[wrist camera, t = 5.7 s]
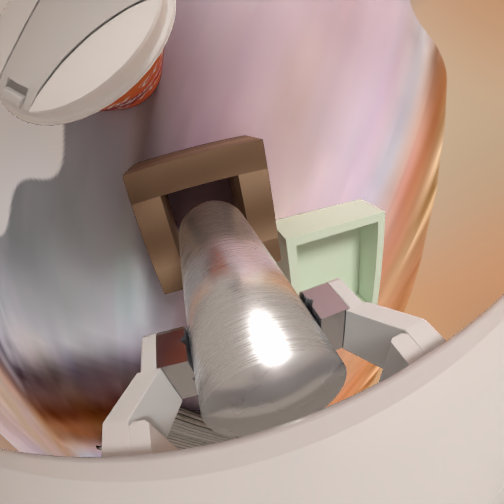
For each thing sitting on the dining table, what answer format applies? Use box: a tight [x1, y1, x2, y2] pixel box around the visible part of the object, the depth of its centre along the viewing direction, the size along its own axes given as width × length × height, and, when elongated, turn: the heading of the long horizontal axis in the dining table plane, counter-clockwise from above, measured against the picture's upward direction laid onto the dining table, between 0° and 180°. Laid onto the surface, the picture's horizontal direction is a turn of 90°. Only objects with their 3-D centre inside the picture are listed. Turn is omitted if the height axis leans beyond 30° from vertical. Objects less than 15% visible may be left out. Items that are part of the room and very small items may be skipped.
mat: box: [96, 406, 238, 450], centre depth 38 cm, size 23×24×5 cm
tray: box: [276, 199, 385, 305], centre depth 27 cm, size 12×10×4 cm
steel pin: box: [179, 201, 347, 437], centre depth 11 cm, size 4×4×11 cm
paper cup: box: [0, 0, 176, 125], centre depth 10 cm, size 8×8×14 cm
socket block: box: [123, 135, 281, 294], centre depth 21 cm, size 9×9×5 cm
